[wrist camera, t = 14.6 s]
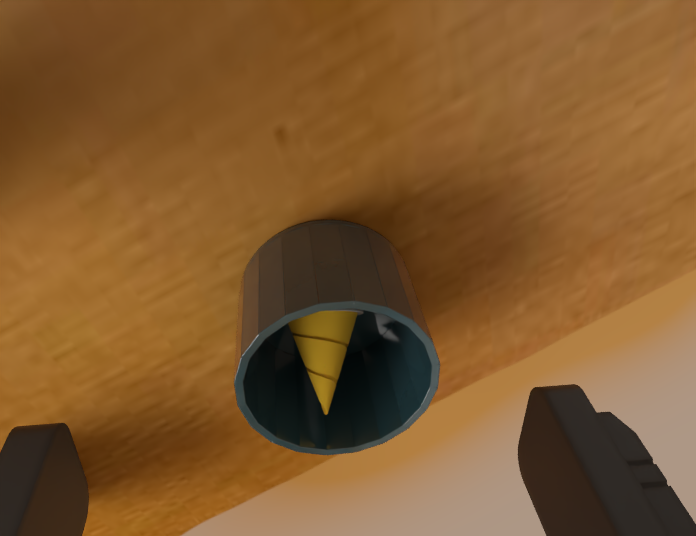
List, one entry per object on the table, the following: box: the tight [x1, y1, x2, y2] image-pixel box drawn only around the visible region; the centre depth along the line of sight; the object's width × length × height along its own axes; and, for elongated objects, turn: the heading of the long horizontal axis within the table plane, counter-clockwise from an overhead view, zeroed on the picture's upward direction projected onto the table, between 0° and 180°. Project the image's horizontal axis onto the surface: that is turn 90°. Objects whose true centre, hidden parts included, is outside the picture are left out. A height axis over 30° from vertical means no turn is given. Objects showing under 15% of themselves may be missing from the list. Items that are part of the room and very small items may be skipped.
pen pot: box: [234, 220, 440, 455], centre depth 39 cm, size 12×12×9 cm
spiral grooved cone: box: [288, 308, 363, 415], centre depth 39 cm, size 5×5×10 cm
